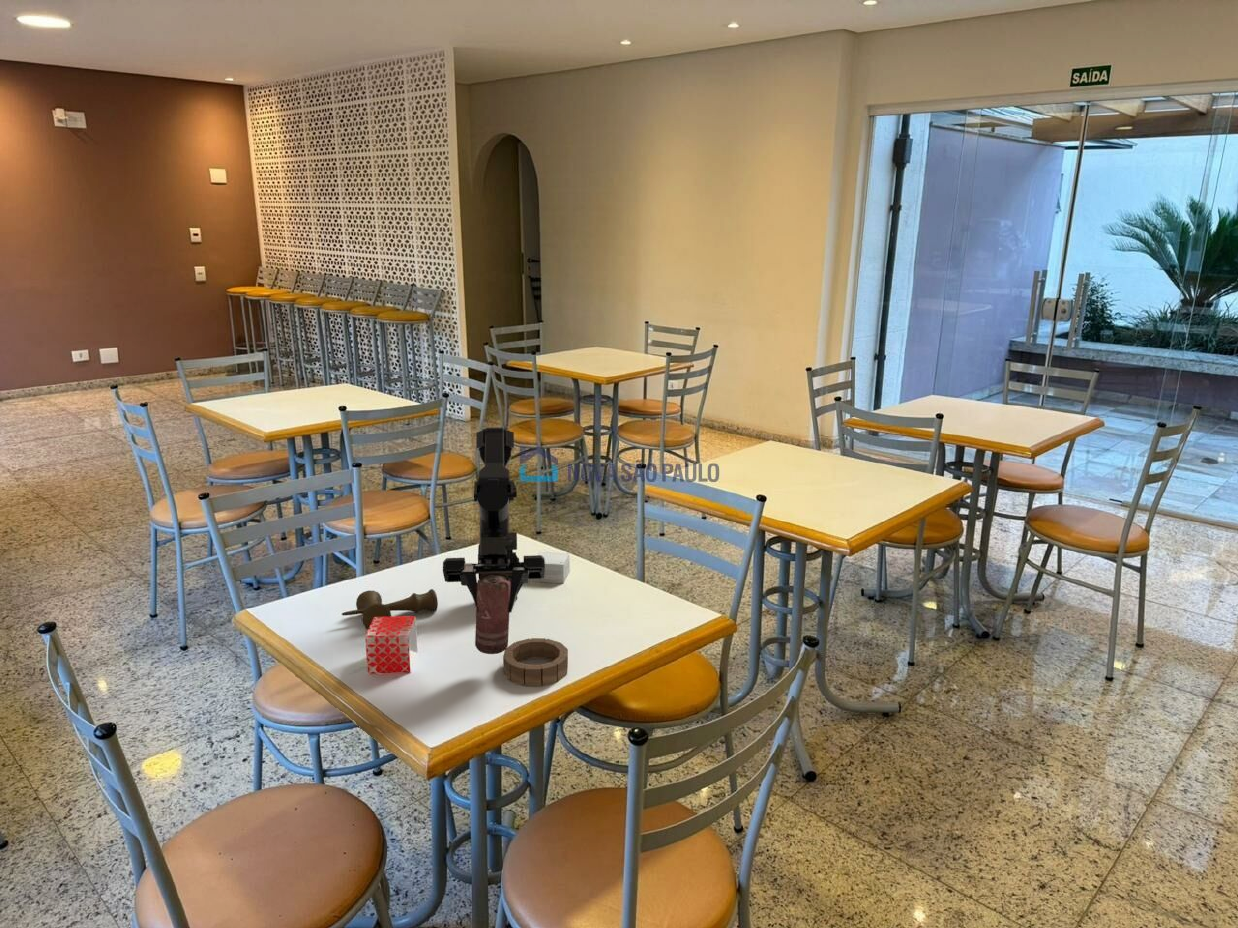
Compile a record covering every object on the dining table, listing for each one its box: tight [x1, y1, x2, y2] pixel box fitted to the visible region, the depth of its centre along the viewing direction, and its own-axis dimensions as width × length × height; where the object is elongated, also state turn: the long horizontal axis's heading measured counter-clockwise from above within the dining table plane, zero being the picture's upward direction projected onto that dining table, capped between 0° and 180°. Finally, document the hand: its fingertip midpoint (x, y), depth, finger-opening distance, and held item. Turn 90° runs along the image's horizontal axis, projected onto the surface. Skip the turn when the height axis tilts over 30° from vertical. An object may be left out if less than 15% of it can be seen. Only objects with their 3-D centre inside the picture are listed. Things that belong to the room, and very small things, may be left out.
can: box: [474, 573, 511, 655], centre depth 151 cm, size 6×6×14 cm
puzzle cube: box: [364, 615, 418, 675], centre depth 156 cm, size 8×8×8 cm
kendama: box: [341, 588, 439, 630], centre depth 175 cm, size 6×10×20 cm
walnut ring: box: [502, 637, 569, 687], centre depth 155 cm, size 12×12×4 cm
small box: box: [532, 550, 571, 585], centre depth 198 cm, size 8×8×5 cm
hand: (494, 612), depth 149 cm, fingers closed on can, 5 cm apart
